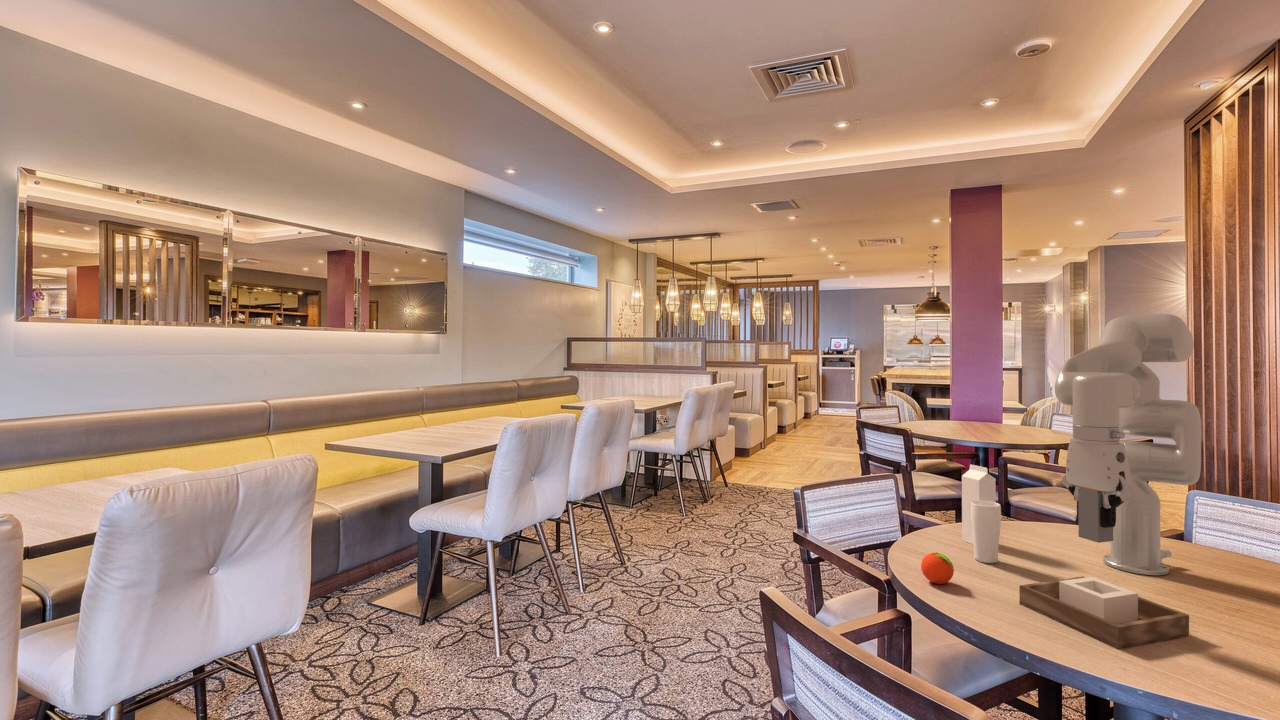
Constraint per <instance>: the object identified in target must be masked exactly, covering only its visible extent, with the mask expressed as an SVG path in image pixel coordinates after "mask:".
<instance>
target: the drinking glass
mask: <svg viewBox="0 0 1280 720" xmlns="http://www.w3.org/2000/svg"><path fill="white" fill-rule="evenodd" d="M1001 506H1002V505H1001V504H1000V503H998V502H996V503H995V502H991V501H983V500H975V501H972V502H971V524H972V534H973V544H972V546H973V557H974V559H975V560H976V561H977V562H980V563H984V564H996V563H997V562H998V561H999V545H1000V536H1001V535H1000V534H1001V524H1002V507H1001Z"/></svg>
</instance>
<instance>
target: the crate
mask: <svg viewBox="0 0 1280 720" xmlns="http://www.w3.org/2000/svg"><path fill="white" fill-rule="evenodd" d="M1079 578H1086V576H1079V577H1078V576H1076V577H1071V578H1063V579H1056V580H1048V581H1041V582H1035V583H1028V584H1020V585H1019V588H1018V589H1019V605H1021V606H1023V607H1025V608H1028V609H1030V610H1032V611H1034V612H1036V613H1038V614H1040V615H1043V616H1044V617H1047V618H1049V619H1052V620H1053V621H1056V622H1058V623H1060V624H1063V625H1065V626H1067V627H1068V628H1071V629H1073V630H1076V631H1078V632H1080V633H1082V634H1084V635H1086V636H1088V637H1090V638H1092V639H1095V640H1097V641H1099V642H1101V643H1104V644H1106V645H1108V646H1110V647H1112V648H1113V649H1114V648H1115V649H1116V650H1123V649H1128V648H1134V647H1140V646H1145V645H1149V644H1155V643H1159V642H1165V641H1171V640H1175V639H1182V638H1187V637H1190V615H1189V614H1187V613H1184V612H1182V611H1179V610H1176V609H1174V608H1171V607H1168V606H1165V605H1162V604H1159V603H1156V602H1153V601H1151V600H1149V599H1146V598H1143V597H1140V596H1138V620H1137V621H1131V622H1125V623H1119V624H1114V623H1112V622H1110V621H1107V620H1105V619H1103V618H1100V617H1098V616H1096V615H1093V614H1091V613H1088V612H1086V611H1084V610H1081V609H1079V608H1077V607H1074V606H1072V605H1069V604H1067V603H1065V602H1062V601H1060V600H1059V581H1065V580H1072V579H1079Z"/></svg>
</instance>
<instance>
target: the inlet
mask: <svg viewBox="0 0 1280 720" xmlns="http://www.w3.org/2000/svg"><path fill="white" fill-rule="evenodd" d="M1085 577H1086V576H1085ZM1138 597H1139V593H1138V592H1135V591H1134V590H1130V589H1128V588H1125V587H1121V586H1118V585H1116V584H1114V583H1113V584H1112V583H1111V582H1108V581H1105V580H1102V579H1099V578H1097V577H1094V576H1088V577H1086V578H1079V579H1072V580H1065V581H1059V600H1060V601H1062V602H1065V603H1067V604H1069V605H1072V606H1074V607H1077V608H1079V609H1081V610H1084V611H1086V612H1088V613H1091V614H1093V615H1096V616H1098V617H1100V618H1103V619H1105V620H1107V621H1110V622H1112V623H1114V624H1119V623H1125V622H1131V621H1137V620H1138Z"/></svg>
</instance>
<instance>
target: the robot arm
mask: <svg viewBox="0 0 1280 720" xmlns="http://www.w3.org/2000/svg"><path fill="white" fill-rule="evenodd" d="M1193 351H1194V337H1193V335H1192V332H1191V330H1190V329H1189V327H1188V325H1187V323H1185V321H1184V320H1183V319H1182V318H1180V317H1179V316H1177V315H1175V314H1169V313H1161V314H1160V313H1158V314H1157V313H1156V314H1153V313H1152V314H1135V315H1133V314H1132V315H1122V316H1118V317H1115V318H1112V319H1111V320H1109V321H1108V322H1107V324H1105V327H1103V330H1102V333H1101V335H1100V337H1099V339H1098V342H1097V344H1096V346H1094V347H1090V348H1088V349H1086V350H1084V351H1082V352H1079V353H1077V354H1075V355H1073V356H1071V357H1069V358H1068V359H1067V360H1066V361H1064V363H1063V364H1062V367H1061V368H1060V370H1059V372H1058V375H1057V377H1056V380H1055V384H1054V394H1055V397H1056V399H1057V400H1058V402H1059V403H1061V404H1063V405H1064V406H1065V405H1066V406H1071V407H1072V438H1070V439H1069V443H1068V447H1067V453H1066V459H1065V460H1066V461H1065V462H1066V463H1065V475H1064V476H1063V478H1062V479H1061V481H1060V483H1061V485H1063V486H1064V487H1065V488H1066V489H1068V491H1069V492H1070V494H1071V495H1072V496H1073V498H1072V499H1073V500H1074V501H1075V502H1076V514H1077V515H1076V519H1077V521H1078V522H1079V516H1078V489H1081V488H1087V489H1091V490H1096V491H1099V492H1101V496H1102V501H1103V506H1104V507H1101V509H1100V513H1101V527H1104V528H1107V527H1113V541H1110V553H1107V554H1104V555H1103V557H1102V561H1103V563H1105V564H1106V565H1107V566H1109V567H1111V568H1114V569H1117V570H1121V571H1124V572H1128V573H1133V574H1139V575H1146V576H1165V575H1167V574H1169V573H1170V567H1169V566H1168V565H1167V564H1165V563H1163V559H1165V558H1166V559H1167V558H1170V557H1172V552H1171V550H1170V549H1161V499H1160V496H1159V495H1158V494H1157V492H1156V491H1155V490H1154V489H1153V487H1152V486H1151V485H1150V484H1148V482H1151V483H1152V482H1155V483H1162V484H1163V483H1164V484H1170V485H1178V486H1179V485H1180V486H1193V485H1194V484H1196V483H1197V482H1198V481H1199V479H1200V476H1201V470H1202V469H1201V468H1202V417H1201V414H1200V410H1199V408H1198V407H1197V406H1196V404H1194V403H1192V402H1190V401H1186V400H1180V399H1178V400H1177V399H1161V397H1160V394H1161V393H1160V391H1161V390H1160V388H1161V382H1160V378H1159V377H1158V375H1157V374H1156V373H1155V372H1154V371H1153V370H1152V369H1151V368H1149V366H1147V365H1146V364H1144V363H1180V362H1185V361H1187V360H1189V359H1190V358H1191V356H1192V355H1193ZM1126 435H1128V436H1134V437H1135V436H1136V437H1148V438H1157V439H1158V438H1159V439H1169V440H1172V441H1174V443H1175V444H1172V443H1171V444H1170V443H1158V442H1151V441H1150V442H1148V441H1138V440H1136V441H1135V440H1123V439H1124V438H1125V437H1126ZM1109 495H1110V496H1109Z"/></svg>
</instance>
